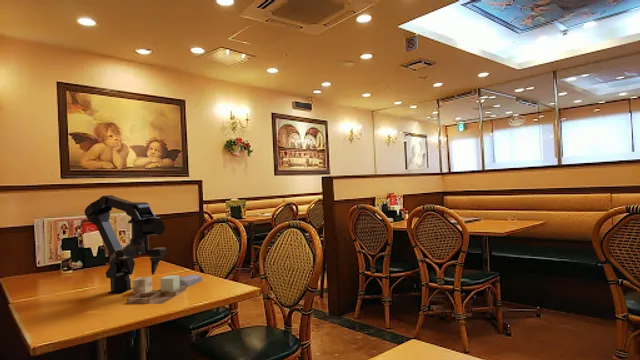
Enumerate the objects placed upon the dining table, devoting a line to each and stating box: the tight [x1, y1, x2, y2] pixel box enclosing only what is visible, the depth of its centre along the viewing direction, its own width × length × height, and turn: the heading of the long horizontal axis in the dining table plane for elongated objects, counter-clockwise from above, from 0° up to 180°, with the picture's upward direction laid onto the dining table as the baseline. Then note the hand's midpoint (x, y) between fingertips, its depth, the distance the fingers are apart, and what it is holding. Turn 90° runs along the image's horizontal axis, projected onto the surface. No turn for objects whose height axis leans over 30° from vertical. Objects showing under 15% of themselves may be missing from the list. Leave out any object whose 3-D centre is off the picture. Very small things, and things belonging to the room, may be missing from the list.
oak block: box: [131, 276, 153, 295], centre depth 152 cm, size 5×5×6 cm
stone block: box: [179, 274, 203, 288], centre depth 162 cm, size 12×5×10 cm
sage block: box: [160, 274, 180, 291], centre depth 148 cm, size 5×5×6 cm
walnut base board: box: [125, 286, 187, 305], centre depth 144 cm, size 14×18×2 cm
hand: (141, 274), depth 152 cm, fingers open, 9 cm apart
